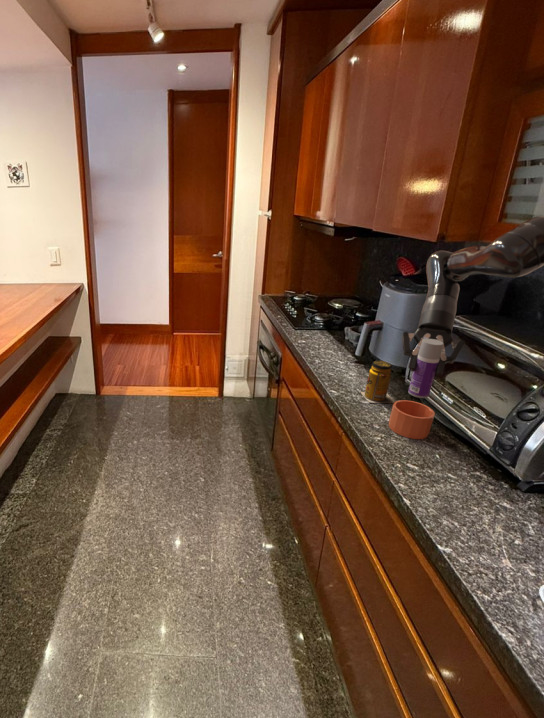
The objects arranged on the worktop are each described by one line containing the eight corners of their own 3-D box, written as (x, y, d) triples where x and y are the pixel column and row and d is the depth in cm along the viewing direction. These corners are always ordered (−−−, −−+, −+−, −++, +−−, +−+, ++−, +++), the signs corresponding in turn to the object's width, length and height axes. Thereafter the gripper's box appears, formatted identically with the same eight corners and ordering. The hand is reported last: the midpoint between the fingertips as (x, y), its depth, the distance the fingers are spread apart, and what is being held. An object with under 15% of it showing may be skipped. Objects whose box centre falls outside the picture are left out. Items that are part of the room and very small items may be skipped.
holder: (423, 423, 110) (429, 403, 108) (433, 442, 102) (439, 421, 99) (385, 417, 113) (390, 398, 111) (392, 435, 105) (397, 414, 102)
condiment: (359, 392, 128) (366, 358, 123) (386, 392, 127) (394, 359, 122) (368, 403, 121) (376, 368, 116) (396, 404, 120) (405, 369, 116)
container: (430, 399, 100) (446, 346, 95) (410, 396, 102) (424, 343, 96) (425, 391, 105) (440, 339, 99) (406, 388, 106) (419, 337, 100)
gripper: (408, 304, 104) (394, 360, 100) (474, 313, 97) (462, 374, 92) (405, 318, 110) (391, 371, 106) (467, 327, 103) (455, 385, 98)
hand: (424, 372), depth 99 cm, fingers closed on container, 4 cm apart
